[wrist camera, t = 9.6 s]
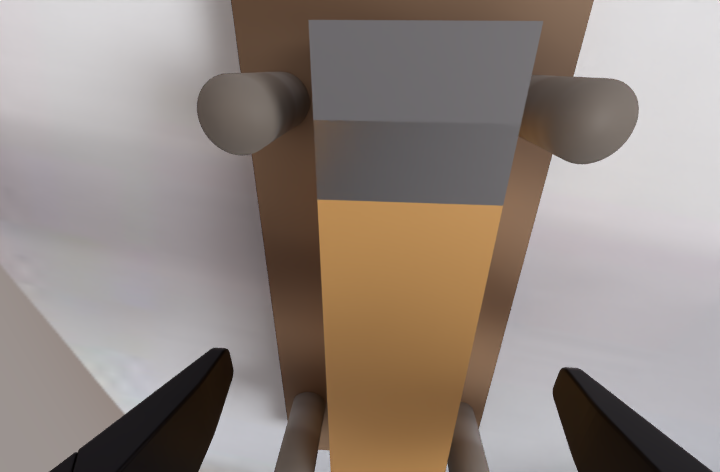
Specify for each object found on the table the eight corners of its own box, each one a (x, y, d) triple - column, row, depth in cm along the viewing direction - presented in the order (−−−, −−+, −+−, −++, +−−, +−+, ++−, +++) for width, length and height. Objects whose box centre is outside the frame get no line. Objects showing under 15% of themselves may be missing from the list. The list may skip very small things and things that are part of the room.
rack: (463, 431, 18) (490, 551, 14) (297, 419, 18) (270, 532, 14) (575, -40, 9) (765, -147, 4) (246, -39, 9) (121, -134, 5)
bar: (420, 431, 16) (431, 536, 12) (344, 425, 16) (333, 528, 12) (477, 40, 9) (543, 20, 5) (339, 39, 9) (308, 19, 5)
